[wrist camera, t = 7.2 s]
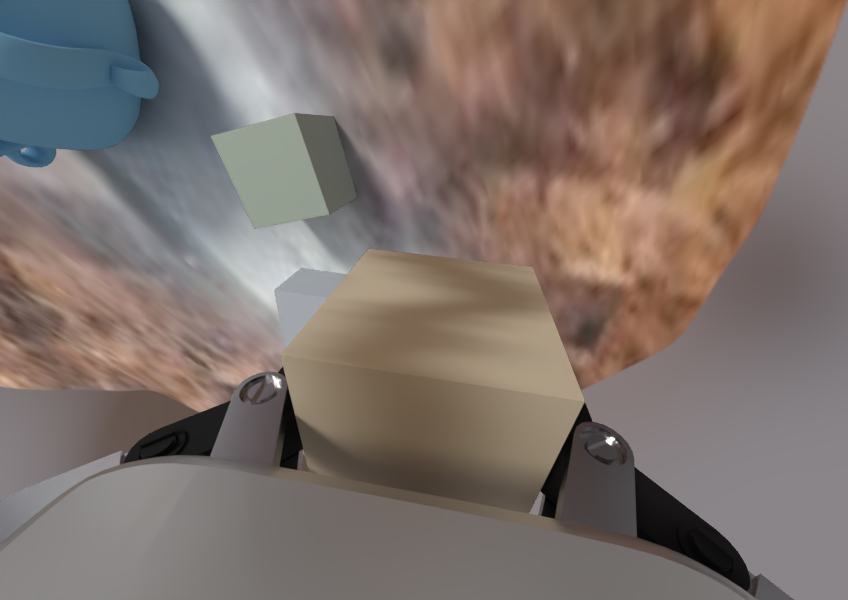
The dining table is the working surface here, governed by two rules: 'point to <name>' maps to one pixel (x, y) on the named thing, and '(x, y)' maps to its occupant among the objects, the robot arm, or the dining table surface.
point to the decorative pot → (68, 77)
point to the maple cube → (434, 380)
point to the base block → (303, 298)
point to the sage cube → (287, 168)
